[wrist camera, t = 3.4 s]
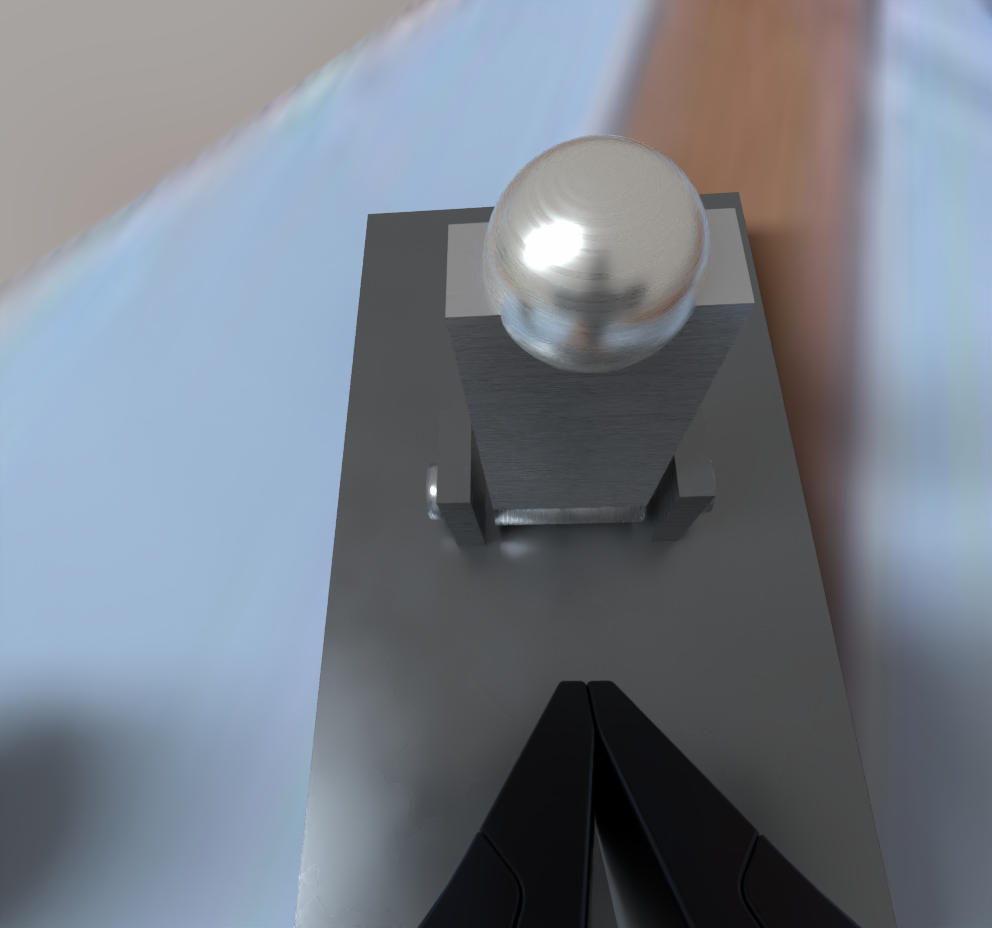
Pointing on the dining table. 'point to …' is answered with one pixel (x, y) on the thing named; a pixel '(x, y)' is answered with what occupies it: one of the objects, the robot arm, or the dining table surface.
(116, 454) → the dining table surface
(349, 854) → the lever base
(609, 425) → the lever
